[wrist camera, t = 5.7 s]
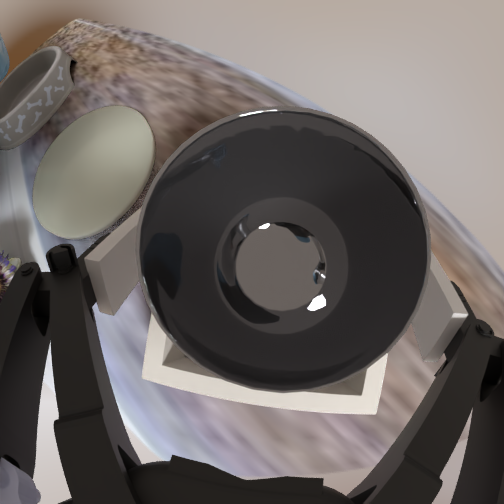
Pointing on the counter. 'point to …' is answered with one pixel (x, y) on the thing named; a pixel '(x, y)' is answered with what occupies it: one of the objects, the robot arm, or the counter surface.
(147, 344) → the holder
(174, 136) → the counter surface
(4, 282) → the passion flower
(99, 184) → the plate
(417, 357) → the counter surface
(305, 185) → the wine glass
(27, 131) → the dog bowl
